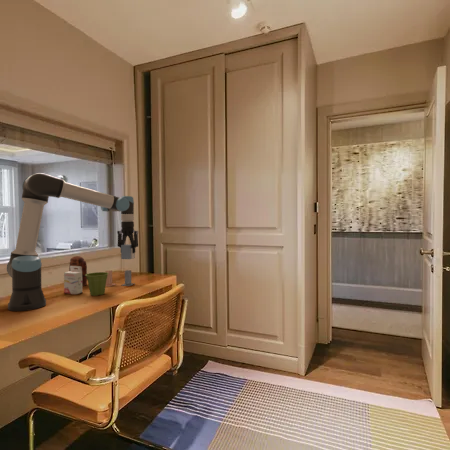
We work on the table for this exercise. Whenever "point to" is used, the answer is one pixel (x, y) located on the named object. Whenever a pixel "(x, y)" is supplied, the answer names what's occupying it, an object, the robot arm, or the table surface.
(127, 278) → the post
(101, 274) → the plant pot
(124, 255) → the grey upright block
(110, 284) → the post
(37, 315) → the table surface
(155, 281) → the table surface
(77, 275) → the ink cartridge box
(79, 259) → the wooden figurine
